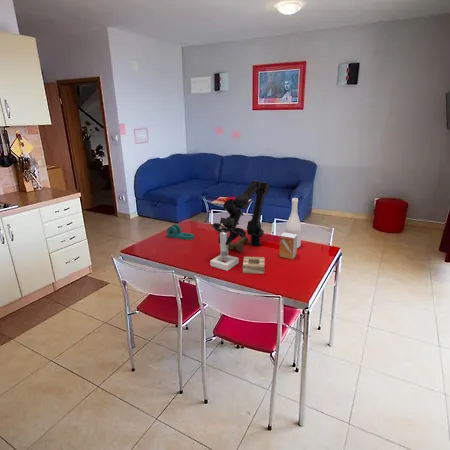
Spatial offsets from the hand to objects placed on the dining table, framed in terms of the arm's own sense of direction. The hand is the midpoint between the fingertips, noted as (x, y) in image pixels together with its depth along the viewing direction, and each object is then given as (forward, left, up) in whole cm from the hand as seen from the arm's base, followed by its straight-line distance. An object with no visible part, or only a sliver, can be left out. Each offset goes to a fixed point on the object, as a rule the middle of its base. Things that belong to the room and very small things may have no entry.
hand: (222, 244), depth 167 cm
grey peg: (-1, +1, -7) cm, 7 cm away
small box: (+2, +38, -13) cm, 40 cm away
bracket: (-50, -13, -13) cm, 53 cm away
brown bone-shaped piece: (-19, +15, -13) cm, 28 cm away
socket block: (+9, +14, -12) cm, 21 cm away
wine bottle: (-10, +48, -13) cm, 51 cm away
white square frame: (-1, +1, -12) cm, 13 cm away
